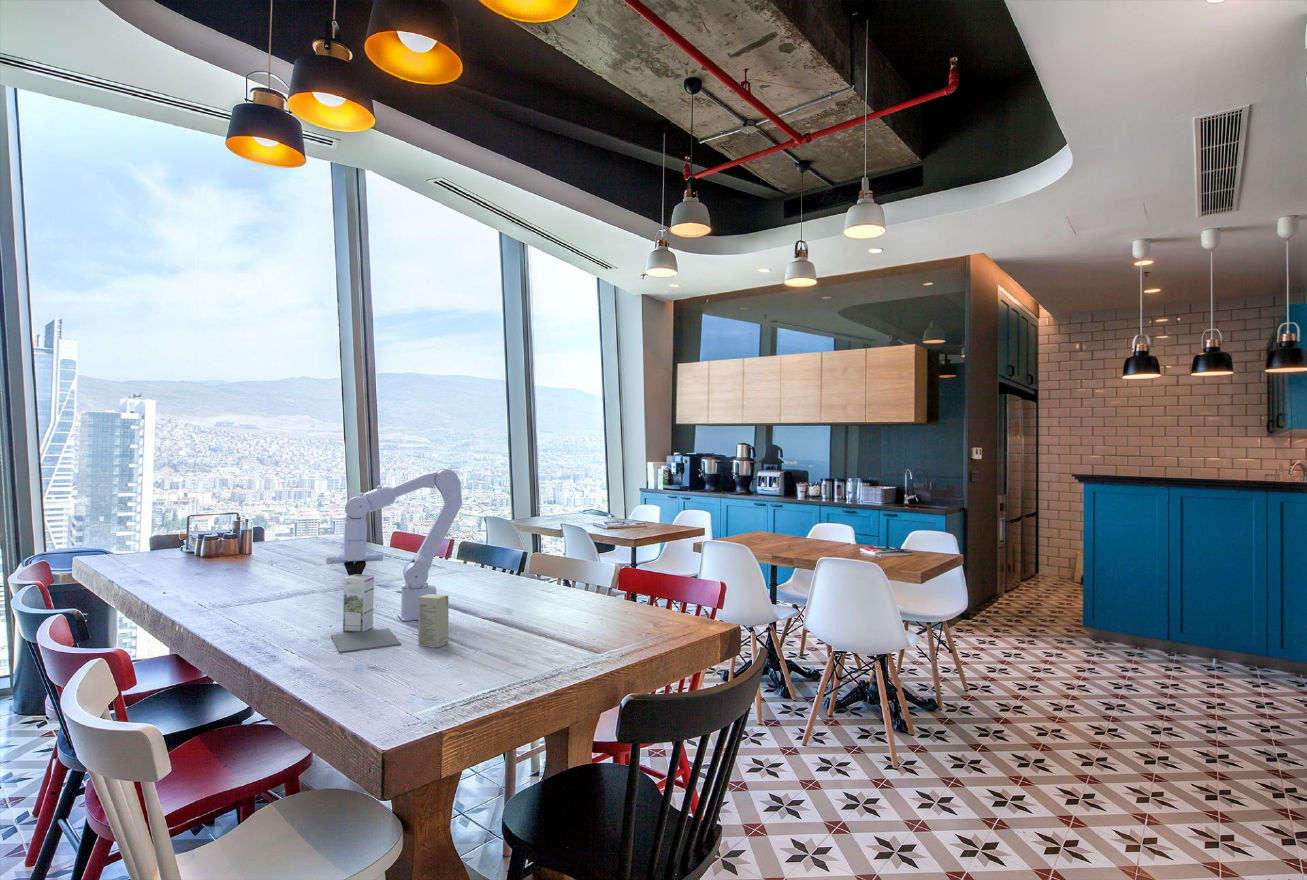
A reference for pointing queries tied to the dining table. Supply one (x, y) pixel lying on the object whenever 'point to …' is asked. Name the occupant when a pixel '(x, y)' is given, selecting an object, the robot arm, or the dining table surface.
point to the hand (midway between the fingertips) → (354, 588)
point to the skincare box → (433, 620)
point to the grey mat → (364, 640)
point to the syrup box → (358, 603)
